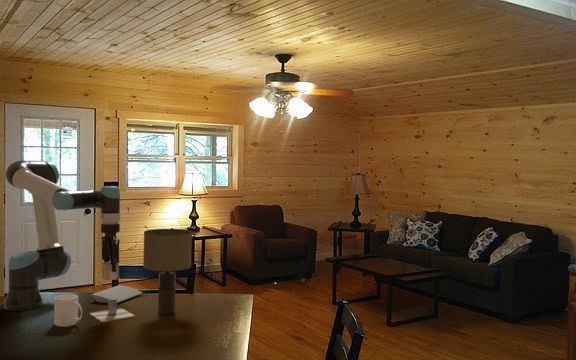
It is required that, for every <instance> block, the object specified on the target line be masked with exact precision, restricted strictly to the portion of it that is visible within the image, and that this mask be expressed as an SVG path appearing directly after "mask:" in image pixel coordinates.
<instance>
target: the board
mask: <svg viewBox="0 0 576 360" xmlns="http://www.w3.org/2000/svg"><path fill="white" fill-rule="evenodd" d="M89 316H91V317H92V318H95V320H97V321H98V322H100V323H102V324H103V323H107V322H108V323H109V322H114V321H119V320H120V321H121V320H127V319H132V318H136V315H135V314H133V313H131V312H130V311H128V310H126V309H124V308H122V307H119V308H117V311H116V315H111V316H110V315H109V314H108V309H106V310H101V311H95V312H93V311H92V312H89Z"/></svg>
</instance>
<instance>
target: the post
mask: <svg viewBox="0 0 576 360" xmlns="http://www.w3.org/2000/svg"><path fill="white" fill-rule="evenodd" d="M107 304H108V305H107V310H108V314H109V315H110V316H111V315H116V311H117V309H118V308H117V304H118V303H117V299H115V298H111V299H108V303H107Z"/></svg>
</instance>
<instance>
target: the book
mask: <svg viewBox="0 0 576 360" xmlns="http://www.w3.org/2000/svg"><path fill="white" fill-rule="evenodd" d="M143 293H144V292H143V291H141V290H138V289H136V288H134V287H130V286H127V285H122V284H118V285H115V286H113V287H110V288H109V287H108V288H107V289H103V290H99V291H97V292H94V293H92V294H90V296H93V299H94V300H95V301H96V302H97V303H105V304H108V299H111V298H115V299H117V304H119V303H121V302H124V301H127V300H130V299H132V298H135V297H138V296H139V295H141V294H143Z"/></svg>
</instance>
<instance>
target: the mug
mask: <svg viewBox="0 0 576 360" xmlns="http://www.w3.org/2000/svg"><path fill="white" fill-rule="evenodd" d="M79 310H80V316H79ZM53 313H54V318H53V319H54V325H55V326H56V327H60V328H61V327H62V328H63V327H64V328H66V327H67V328H68V327H72V326H75V325H77V324H78V322H79V321H81V319H82V317H83V308H82V306H81V304H80V303H79V296H78V295H77V294H72V293H71V294H60V295H57V296H54V311H53Z"/></svg>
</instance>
